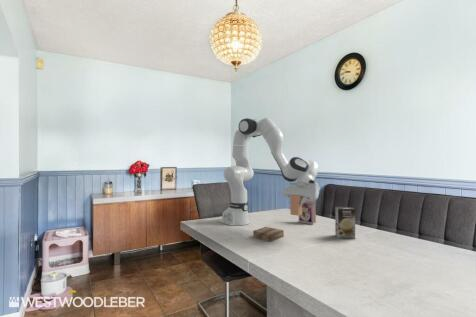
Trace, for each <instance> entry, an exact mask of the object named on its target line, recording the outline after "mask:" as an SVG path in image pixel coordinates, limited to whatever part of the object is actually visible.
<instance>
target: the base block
mask: <svg viewBox="0 0 476 317" xmlns="http://www.w3.org/2000/svg"><path fill="white" fill-rule="evenodd" d="M252 233H253V234H252V235H253V239H254V238H255V239H259V240H262V241H267V242H274V241H277V240H279V239H282V238H284V237H285V236H284V234H285V232H284V229H279V228H275V227H271V226H269V227H268V226H264V227H262V228H258V229H255V230H253V231H252Z"/></svg>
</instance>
